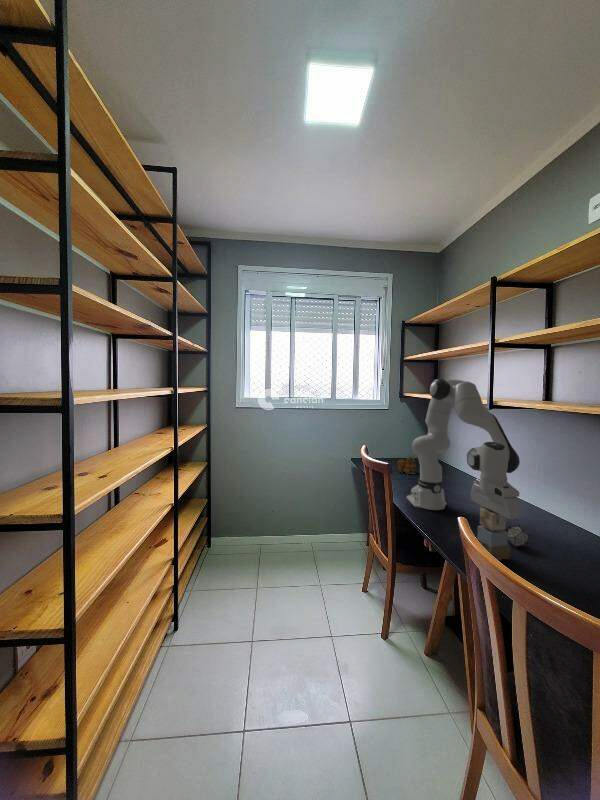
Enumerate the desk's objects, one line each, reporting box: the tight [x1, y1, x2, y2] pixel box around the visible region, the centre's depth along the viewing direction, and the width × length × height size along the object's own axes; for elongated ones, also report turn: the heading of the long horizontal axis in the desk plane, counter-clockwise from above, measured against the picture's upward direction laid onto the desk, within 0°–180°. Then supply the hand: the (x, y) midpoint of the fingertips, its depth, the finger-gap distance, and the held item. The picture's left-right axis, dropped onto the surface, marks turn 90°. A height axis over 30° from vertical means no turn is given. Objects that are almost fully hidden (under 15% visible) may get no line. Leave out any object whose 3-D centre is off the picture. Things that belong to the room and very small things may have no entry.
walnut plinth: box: [476, 537, 511, 561], centre depth 120 cm, size 8×8×5 cm
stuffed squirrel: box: [396, 455, 417, 475], centre depth 235 cm, size 10×14×13 cm
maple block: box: [479, 508, 507, 530], centre depth 120 cm, size 6×6×6 cm
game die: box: [505, 524, 532, 549], centre depth 127 cm, size 9×8×10 cm
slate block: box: [477, 524, 509, 547], centre depth 120 cm, size 7×7×5 cm
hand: (492, 521), depth 120 cm, fingers closed on maple block, 6 cm apart
